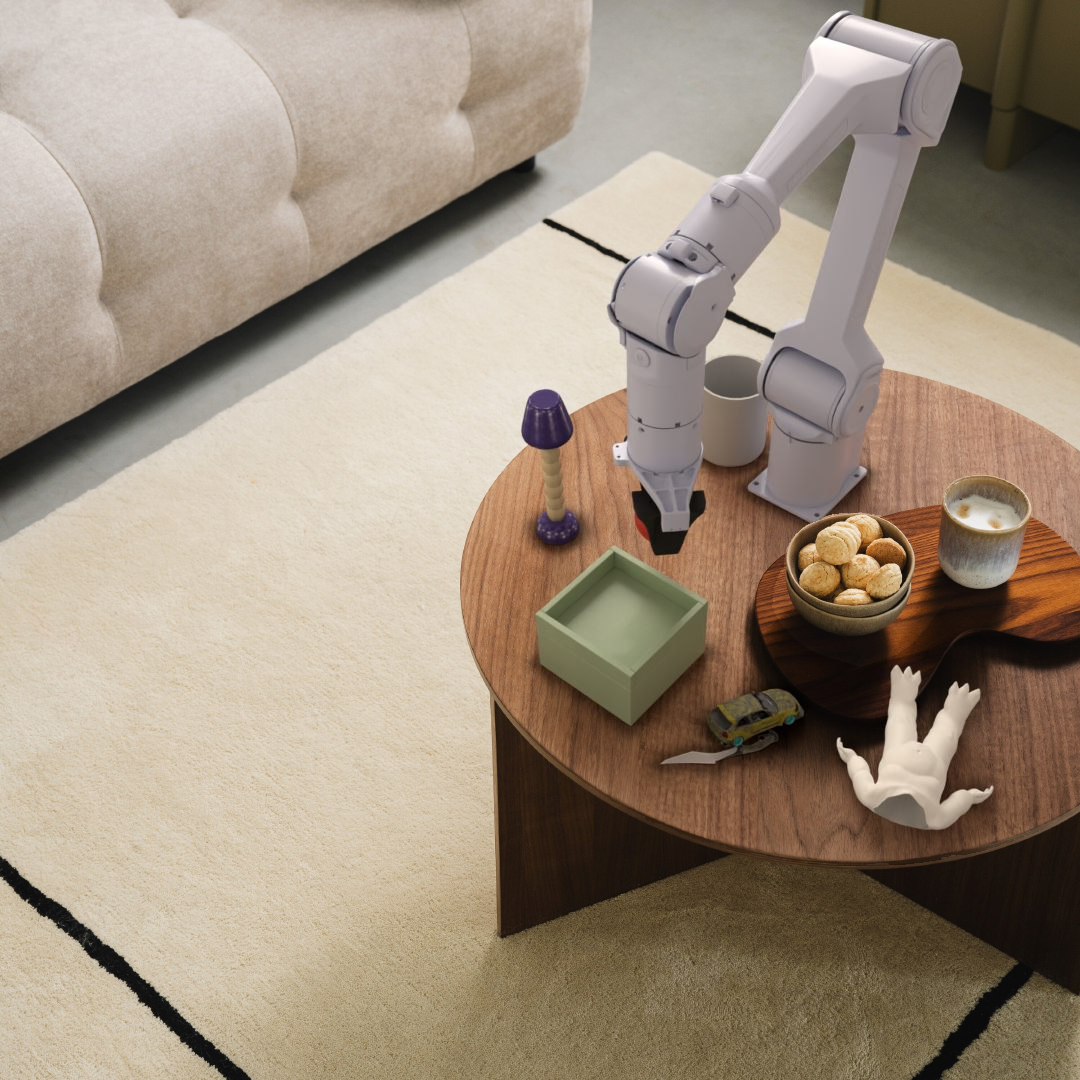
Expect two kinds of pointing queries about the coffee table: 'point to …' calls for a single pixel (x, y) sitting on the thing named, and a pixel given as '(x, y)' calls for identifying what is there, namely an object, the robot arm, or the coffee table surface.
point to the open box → (622, 633)
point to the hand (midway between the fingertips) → (662, 529)
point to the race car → (752, 715)
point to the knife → (712, 757)
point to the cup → (733, 411)
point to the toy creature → (916, 760)
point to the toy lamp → (550, 462)
